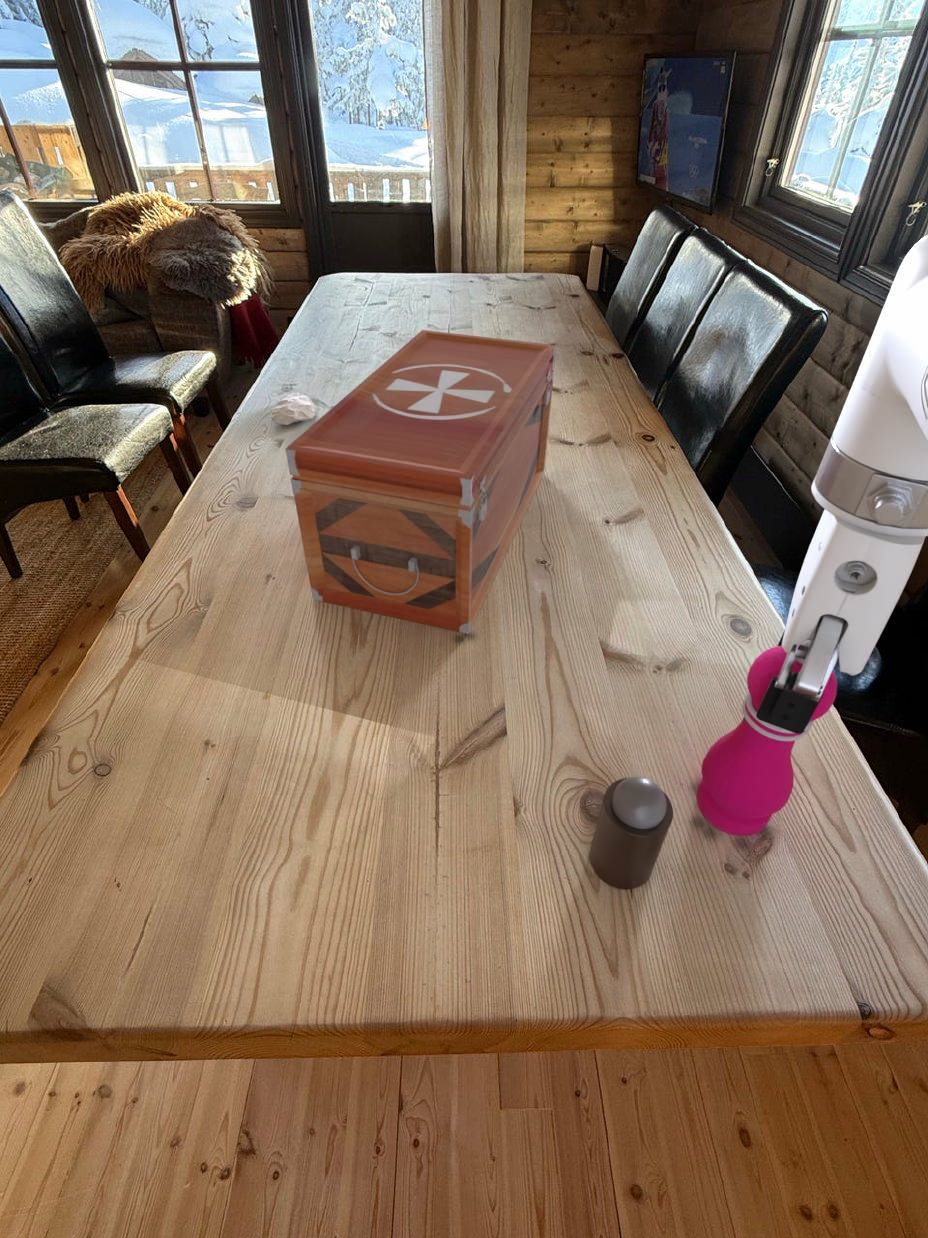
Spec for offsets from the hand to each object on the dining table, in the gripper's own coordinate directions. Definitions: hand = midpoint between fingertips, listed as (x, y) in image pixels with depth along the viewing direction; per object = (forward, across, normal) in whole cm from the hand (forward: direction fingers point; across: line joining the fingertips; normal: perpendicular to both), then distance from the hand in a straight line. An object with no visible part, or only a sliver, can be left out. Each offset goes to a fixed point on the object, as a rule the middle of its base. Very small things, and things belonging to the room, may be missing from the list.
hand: (787, 691), depth 49 cm
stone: (+15, +46, +89) cm, 101 cm away
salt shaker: (+15, -10, +7) cm, 19 cm away
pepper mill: (+15, 0, 0) cm, 15 cm away
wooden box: (+15, +26, +45) cm, 54 cm away
